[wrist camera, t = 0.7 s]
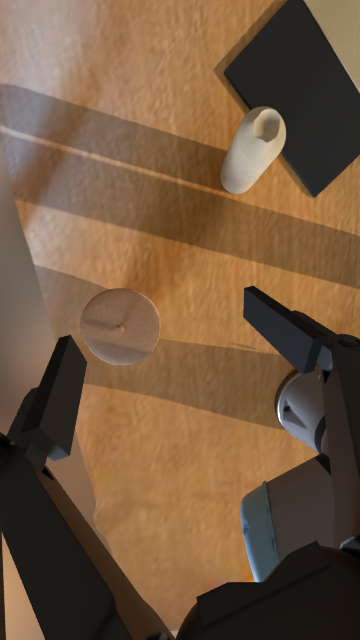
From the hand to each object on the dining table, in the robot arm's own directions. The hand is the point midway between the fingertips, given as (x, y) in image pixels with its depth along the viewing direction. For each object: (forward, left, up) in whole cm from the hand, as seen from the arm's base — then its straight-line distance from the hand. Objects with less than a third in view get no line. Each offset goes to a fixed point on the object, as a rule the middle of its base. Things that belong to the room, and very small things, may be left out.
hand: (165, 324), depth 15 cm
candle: (+6, -21, -19) cm, 29 cm away
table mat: (+6, -40, -19) cm, 45 cm away
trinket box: (+2, +7, -19) cm, 21 cm away
